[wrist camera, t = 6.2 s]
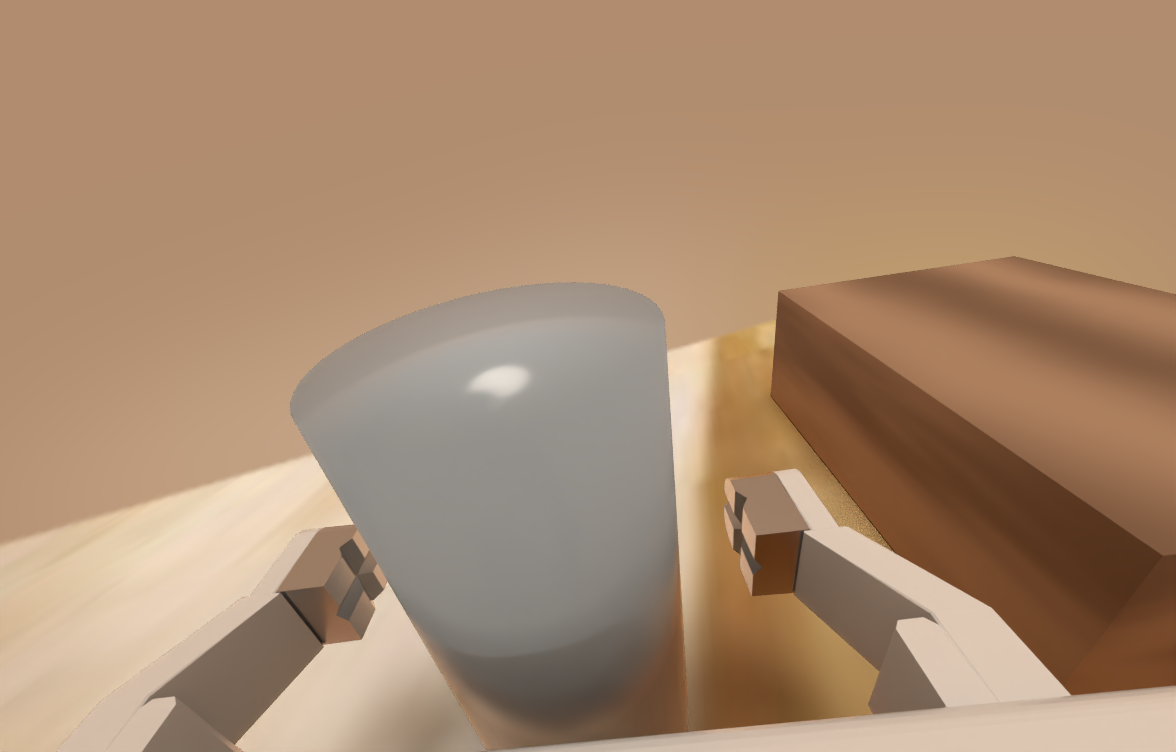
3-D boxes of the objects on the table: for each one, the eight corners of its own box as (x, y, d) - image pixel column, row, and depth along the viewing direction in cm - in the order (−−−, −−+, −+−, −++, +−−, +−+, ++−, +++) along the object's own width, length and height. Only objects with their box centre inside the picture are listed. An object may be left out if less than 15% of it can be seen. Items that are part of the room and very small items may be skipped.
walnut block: (1032, 725, 10) (1162, 556, 7) (770, 395, 23) (778, 290, 20) (1550, 677, 9) (1922, 471, 6) (976, 367, 22) (1014, 256, 20)
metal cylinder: (473, 846, 9) (174, 479, 4) (509, 612, 14) (389, 305, 9) (713, 826, 9) (713, 409, 4) (667, 595, 14) (639, 268, 9)
